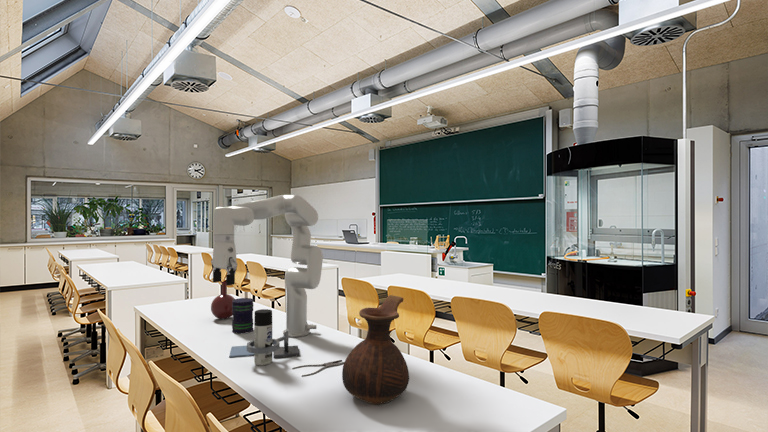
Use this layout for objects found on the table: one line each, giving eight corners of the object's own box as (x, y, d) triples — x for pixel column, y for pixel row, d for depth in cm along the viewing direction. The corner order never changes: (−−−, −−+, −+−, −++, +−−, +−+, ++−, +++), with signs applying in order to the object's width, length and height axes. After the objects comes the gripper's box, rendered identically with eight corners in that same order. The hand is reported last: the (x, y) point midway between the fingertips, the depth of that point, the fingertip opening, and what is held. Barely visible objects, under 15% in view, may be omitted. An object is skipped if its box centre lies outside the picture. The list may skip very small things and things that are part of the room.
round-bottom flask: (231, 322, 217) (231, 284, 217) (206, 321, 217) (206, 283, 217) (240, 315, 230) (240, 280, 230) (216, 315, 230) (217, 279, 230)
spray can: (267, 366, 155) (267, 313, 155) (250, 365, 157) (251, 312, 156) (275, 360, 162) (275, 309, 162) (259, 359, 163) (259, 308, 163)
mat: (261, 345, 179) (261, 344, 179) (260, 355, 168) (260, 353, 168) (231, 348, 176) (231, 346, 176) (229, 357, 164) (229, 356, 164)
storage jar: (249, 333, 197) (249, 302, 196) (228, 333, 197) (228, 302, 197) (256, 328, 206) (256, 298, 206) (236, 327, 207) (236, 297, 207)
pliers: (288, 369, 152) (330, 355, 167) (288, 371, 152) (330, 357, 167) (304, 376, 145) (346, 361, 160) (304, 378, 145) (346, 363, 160)
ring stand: (297, 348, 176) (297, 327, 176) (301, 364, 157) (301, 341, 157) (248, 352, 171) (248, 330, 171) (245, 369, 152) (246, 345, 152)
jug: (420, 406, 125) (421, 306, 125) (350, 415, 119) (351, 310, 118) (397, 378, 146) (398, 293, 145) (336, 384, 139) (337, 296, 139)
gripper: (245, 239, 157) (244, 284, 157) (221, 237, 168) (221, 279, 168) (226, 240, 151) (226, 287, 152) (203, 238, 162) (203, 281, 163)
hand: (223, 283), depth 160 cm, fingers open, 9 cm apart
